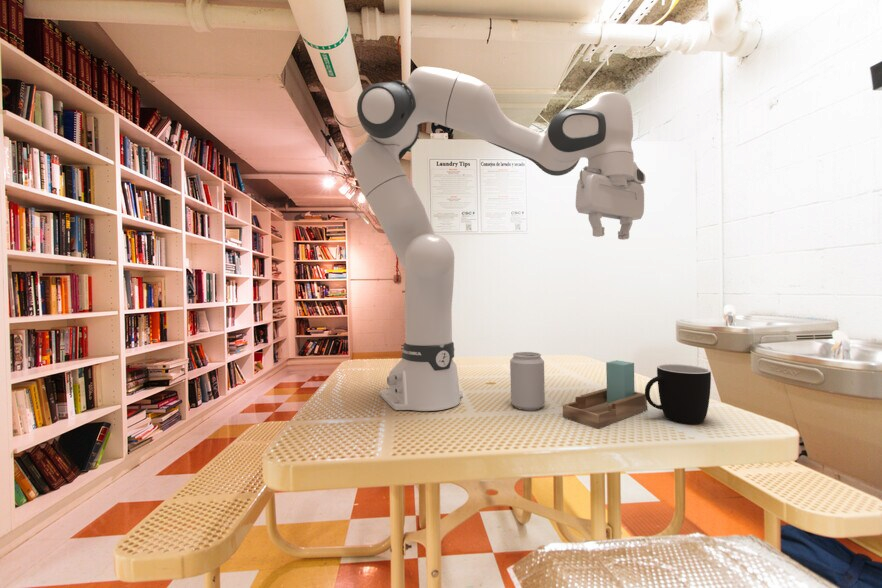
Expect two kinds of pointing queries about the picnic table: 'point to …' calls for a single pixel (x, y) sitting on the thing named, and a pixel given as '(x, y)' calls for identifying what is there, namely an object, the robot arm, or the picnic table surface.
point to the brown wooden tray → (603, 408)
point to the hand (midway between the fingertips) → (611, 237)
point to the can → (527, 380)
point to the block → (619, 380)
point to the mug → (682, 392)
